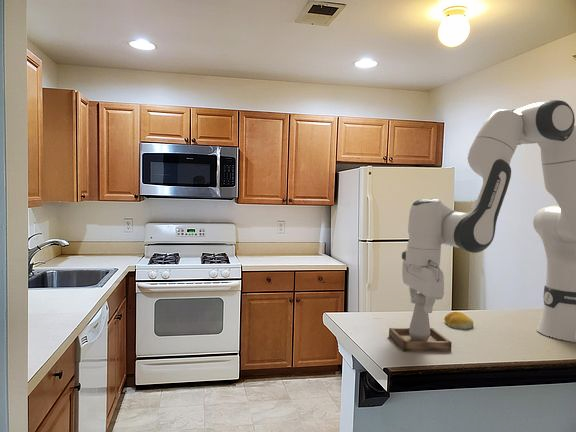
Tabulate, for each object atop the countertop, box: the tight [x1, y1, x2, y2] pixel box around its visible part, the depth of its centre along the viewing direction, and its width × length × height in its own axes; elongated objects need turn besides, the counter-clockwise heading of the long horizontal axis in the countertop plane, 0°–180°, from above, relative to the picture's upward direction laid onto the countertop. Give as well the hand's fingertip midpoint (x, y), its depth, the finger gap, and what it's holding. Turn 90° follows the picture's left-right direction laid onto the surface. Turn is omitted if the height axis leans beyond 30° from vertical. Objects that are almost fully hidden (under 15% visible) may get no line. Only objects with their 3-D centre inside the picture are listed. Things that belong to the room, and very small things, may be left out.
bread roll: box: [443, 311, 474, 330], centre depth 144 cm, size 8×9×4 cm
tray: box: [388, 327, 453, 352], centre depth 126 cm, size 13×12×2 cm
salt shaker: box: [408, 292, 431, 341], centre depth 126 cm, size 6×6×13 cm
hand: (420, 307), depth 125 cm, fingers open, 8 cm apart
